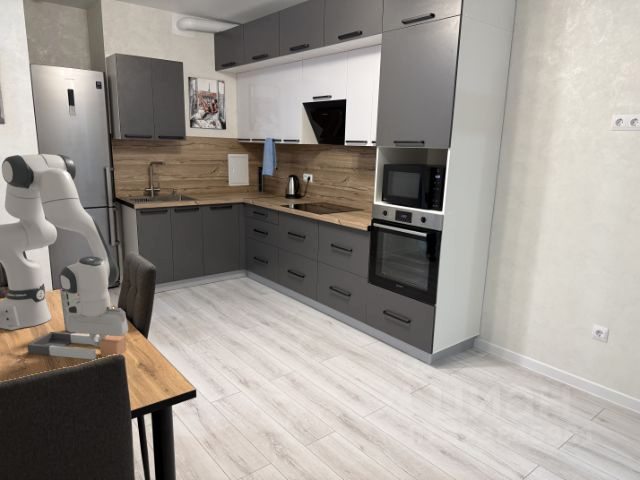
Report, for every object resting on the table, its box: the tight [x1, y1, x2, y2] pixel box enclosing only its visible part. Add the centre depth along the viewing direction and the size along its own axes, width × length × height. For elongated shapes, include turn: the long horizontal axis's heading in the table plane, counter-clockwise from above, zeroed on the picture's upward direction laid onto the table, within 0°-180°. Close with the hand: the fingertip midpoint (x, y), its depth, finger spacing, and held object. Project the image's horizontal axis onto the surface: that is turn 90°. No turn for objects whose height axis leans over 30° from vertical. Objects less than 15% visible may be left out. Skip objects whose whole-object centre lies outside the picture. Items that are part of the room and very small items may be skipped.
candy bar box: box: [59, 288, 80, 334], centre depth 168 cm, size 11×5×16 cm, turn 148°
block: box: [99, 335, 127, 357], centre depth 149 cm, size 6×5×5 cm
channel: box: [49, 333, 108, 360], centre depth 151 cm, size 16×11×3 cm
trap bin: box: [26, 331, 72, 356], centre depth 153 cm, size 8×11×3 cm
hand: (99, 345), depth 149 cm, fingers closed
